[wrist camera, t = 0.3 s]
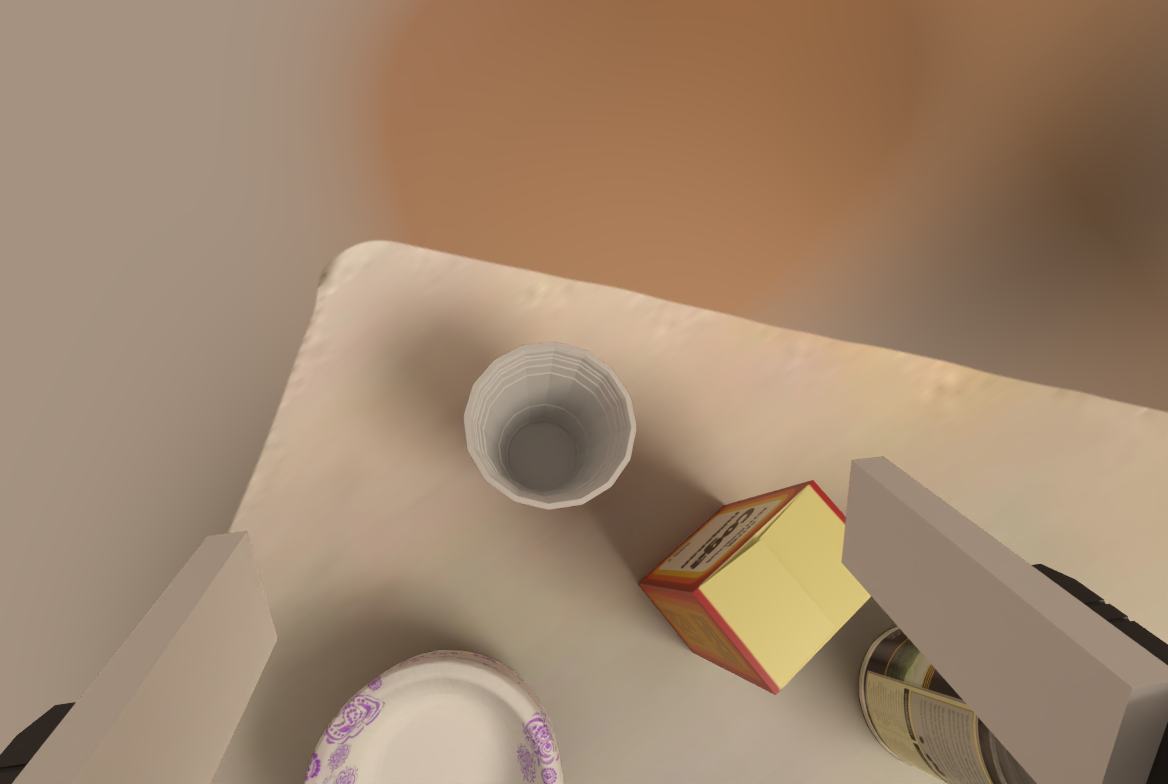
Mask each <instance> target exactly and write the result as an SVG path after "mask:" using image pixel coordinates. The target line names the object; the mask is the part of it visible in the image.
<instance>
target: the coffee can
mask: <svg viewBox="0 0 1168 784" xmlns="http://www.w3.org/2000/svg"><path fill="white" fill-rule="evenodd" d="M859 697H860V703H861V707H862V711H863V714H864V717H865V719H866V722H867V724H868V726H869V728H870V730H871V731H872V733H873V734H874V736H875V737H876V739H877V740H878V741H879V742H880V744H881V745H882V746H883V747H884V748H885V749H886V750H887V751H888V752H890V753H891V754H892V755H893V756H895V757H896V758H898V759H899V760H901V761H903V762H905V763H907V764H909V765H911V766H915V767H917V768H919V769H921V770H923V771H925V772H927V773H929V774H931V775H932V776H934V777H936V778H938V779H940V780H942V781H944V782H946V783H948V784H1037V783H1036V782H1035V781H1034V780H1033V779H1032V777H1031V776H1030V775H1029V774H1028V773H1027V772H1026V771H1025V770H1024V768H1023V767H1022V766H1021V765H1020V764H1019V763H1018V762H1017V761H1016V759H1015V758H1014V757H1013V756H1012V755H1011V754H1010V753H1009V751H1008V750H1007V749H1006V748H1005V747H1004V746H1003V745H1002V744H1001V742H1000V741H999V740H998V739H997V738H996V737H995V736H994V734H993V733H992V732H991V731H990V730H989V729H988V728H987V727H986V725H985V724H984V723H983V722H982V721H981V720H980V719H979V718H978V716H977V715H976V714H975V713H974V712H973V711H972V710H971V708H970V707H969V706H968V705H967V704H966V703H965V702H964V701H963V699H962V698H961V697H960V696H959V695H958V694H957V693H956V692H955V690H954V689H953V688H952V687H951V686H950V685H949V684H948V682H947V681H946V680H945V679H944V678H943V677H942V676H941V675H940V673H939V672H938V671H937V670H936V669H935V668H934V667H933V665H932V664H931V663H930V662H929V661H928V660H927V659H926V658H925V656H924V655H923V654H922V653H921V652H920V651H919V650H918V649H917V647H916V646H915V645H914V644H913V643H912V642H911V641H910V639H909V638H908V637H907V636H906V635H905V634H904V633H903V632H902V630H901V629H900V628H899V627H898V626H897V627H894V628H892V629H889V630H888V631H886V632H885V633H883V634H882V635H881V636H880V637H878V638H877V639H876V640H875V642H874V643H873V644H872V645H871V647H870V648H869V650H868V651H867V653H866V655H865V657H864V660H863V663H862V666H861V669H860V675H859Z"/></svg>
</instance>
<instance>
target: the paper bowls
mask: <svg viewBox="0 0 1168 784" xmlns="http://www.w3.org/2000/svg"><path fill="white" fill-rule="evenodd" d="M304 784H563V773H562V765H561V760H560V755H559V750H558V746H557V742H556V738H555V734H554V731H553V728H552V724H551V721H550V719H549V717H548V714H547V712H546V710H545V708H544V707H543V705H542V703H541V701H540V700H539V698H538V697H537V696H536V694H535V693H534V691H533V690H532V689H531V688H530V687H529V685H528V684H527V683H526V682H525V681H524V680H523V679H522V678H521V677H520V676H519V675H518V674H516V673H515V672H514V671H512V670H511V669H509V668H508V667H507V666H505V665H504V664H502V663H500V662H498V661H496V660H494V659H492V658H490V657H488V656H484V655H480V654H477V653H472V652H468V651H461V650H436V651H432V652H428V653H424V654H420V655H417V656H414V657H412V658H410V659H407V660H405V661H402V662H400V663H398V664H397V665H395V666H393V667H391V668H390V669H388V670H387V671H385V672H384V673H382V674H381V675H379V676H378V677H377V678H375V679H374V680H372V681H371V682H369V683H368V684H367V685H365V686H364V687H363V688H362V689H360V690H359V691H358V692H357V693H356V694H354V695H353V696H352V697H351V698H350V699H349V700H348V701H347V703H346V704H345V705H344V706H343V707H342V708H341V710H340V711H339V712H338V713H337V714H336V716H335V717H334V718H333V719H332V720H331V722H330V723H329V725H328V726H327V728H326V729H325V731H324V732H323V734H322V736H321V738H320V739H319V741H318V744H317V746H316V748H315V750H314V753H313V754H312V757H311V761H310V762H309V766H308V769H307V772H306V776H305V780H304Z"/></svg>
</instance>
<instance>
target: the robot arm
mask: <svg viewBox="0 0 1168 784" xmlns="http://www.w3.org/2000/svg"><path fill="white" fill-rule="evenodd" d="M841 563H842V564H843V565H844V566H845V567H846V568H847V569H848V570H849V572H850V573H851V574H852V575H853V576H854V577H855V578H856V579H857V581H858V582H859V583H860V584H861V585H862V586H863V587H864V589H865V590H866V591H867V592H868V593H869V594H870V595H871V596H872V598H873V599H874V600H875V601H876V602H877V603H878V604H879V606H880V607H881V608H882V609H883V610H884V611H885V612H886V613H887V615H888V616H889V617H890V618H891V619H892V620H893V621H894V622H895V624H896V625H897V626H898V627H899V628H900V629H901V630H902V632H903V633H904V634H905V635H906V636H907V637H908V638H909V639H910V641H911V642H912V643H913V644H914V645H915V646H916V647H917V649H918V650H919V651H920V652H921V653H922V654H923V655H924V656H925V658H926V659H927V660H928V661H929V662H930V663H931V664H932V665H933V667H934V668H935V669H936V670H937V671H938V672H939V673H940V675H941V676H942V677H943V678H944V679H945V680H946V681H947V682H948V684H949V685H950V686H951V687H952V688H953V689H954V690H955V692H956V693H957V694H958V695H959V696H960V697H961V698H962V699H963V701H964V702H965V703H966V704H967V705H968V706H969V707H970V708H971V710H972V711H973V712H974V713H975V714H976V715H977V716H978V718H979V719H980V720H981V721H982V722H983V723H984V724H985V725H986V727H987V728H988V729H989V730H990V731H991V732H992V733H993V734H994V736H995V737H996V738H997V739H998V740H999V741H1000V742H1001V744H1002V745H1003V746H1004V747H1005V748H1006V749H1007V750H1008V751H1009V753H1010V754H1011V755H1012V756H1013V757H1014V758H1015V759H1016V761H1017V762H1018V763H1019V764H1020V765H1021V766H1022V767H1023V768H1024V770H1025V771H1026V772H1027V773H1028V774H1029V775H1030V776H1031V777H1032V779H1033V780H1034V781H1035V782H1036V783H1037V784H1168V645H1167V644H1166V643H1165V642H1163V641H1162V640H1160V639H1159V638H1158V637H1156V636H1155V635H1153V634H1152V633H1150V632H1149V631H1148V630H1146V629H1145V628H1143V627H1142V626H1141V625H1139V624H1138V623H1136V622H1135V621H1131V622H1130V621H1129V619H1128V616H1126V615H1125V614H1123V613H1122V612H1121V611H1119V610H1118V609H1116V608H1115V607H1114V606H1112V605H1111V604H1105V602H1104V599H1102V598H1101V597H1099V596H1098V595H1096V594H1095V593H1094V592H1092V591H1091V590H1089V589H1088V588H1087V587H1085V586H1084V585H1082V584H1081V583H1079V582H1078V581H1077V580H1075V579H1073V578H1071V577H1068V576H1066V575H1064V574H1062V573H1060V572H1057V571H1055V570H1053V569H1051V568H1049V567H1046V566H1044V565H1042V564H1036V565H1030V564H1029V563H1028V562H1026V561H1025V560H1024V559H1022V558H1021V557H1019V556H1018V555H1017V554H1015V553H1014V552H1013V551H1011V550H1010V549H1009V548H1007V547H1006V546H1004V545H1003V544H1002V543H1000V542H999V541H998V540H996V539H995V538H994V537H992V536H991V535H990V534H988V533H987V532H985V531H984V530H983V529H981V528H980V527H979V526H977V525H976V524H975V523H973V522H972V521H970V520H969V519H968V518H966V517H965V516H964V515H962V514H961V513H960V512H958V511H957V510H956V509H954V508H953V507H951V506H950V505H949V504H947V503H946V502H945V501H943V500H942V499H941V498H939V497H938V496H936V495H935V494H934V493H932V492H931V491H930V490H928V489H927V488H926V487H924V486H923V485H922V484H920V483H919V482H917V481H916V480H915V479H913V478H912V477H911V476H909V475H908V474H907V473H905V472H904V471H902V470H901V469H900V468H898V467H897V466H896V465H894V464H893V463H892V462H890V461H889V460H888V459H886V458H885V457H883V456H882V457H874V458H865V459H857V460H852V462H851V472H850V482H849V492H848V502H847V511H846V521H845V531H844V541H843V551H842V561H841ZM277 640H278V638H277V634H276V631H275V627H274V624H273V620H272V617H271V613H270V610H269V606H268V603H267V599H266V596H265V592H264V588H263V585H262V581H261V578H260V574H259V571H258V567H257V564H256V560H255V557H254V553H253V550H252V546H251V543H250V539H249V536H248V532H247V531H245V532H236V533H228V534H219V535H211V536H207V538H206V539H205V540H204V541H203V543H202V544H201V545H200V546H199V548H198V549H197V550H196V552H195V553H194V554H193V555H192V557H191V558H190V559H189V560H188V562H187V563H186V564H185V565H184V567H183V568H182V569H181V571H180V572H179V573H178V574H177V575H176V577H175V578H174V579H173V581H172V582H171V583H170V584H169V586H168V587H167V588H166V589H165V591H164V592H163V593H162V595H161V596H160V597H159V598H158V600H157V601H156V602H155V603H154V605H153V606H152V607H151V608H150V610H149V611H148V612H147V614H146V615H145V616H144V617H143V618H142V620H141V621H140V622H139V624H138V625H137V626H136V627H135V629H134V630H133V631H132V633H131V634H130V635H129V636H128V638H127V639H126V640H125V641H124V643H123V644H122V645H121V646H120V648H119V649H118V650H117V651H116V653H115V654H114V655H113V657H112V658H111V659H110V660H109V662H108V663H107V664H106V665H105V667H104V668H103V669H102V670H101V672H100V673H99V674H98V675H97V677H96V678H95V679H94V680H93V682H92V683H91V684H90V685H89V687H88V688H87V689H86V691H85V692H84V693H83V694H82V696H81V697H80V698H79V699H78V701H77V702H75V703H68V704H61V705H55V706H54V707H52V708H51V709H50V710H49V711H47V712H46V713H45V714H43V715H42V716H41V717H40V718H38V719H37V720H36V721H35V722H33V723H32V724H31V725H30V726H28V727H27V728H26V729H25V730H23V731H22V732H21V733H19V734H18V735H17V736H16V737H15V738H14V739H13V741H12V742H11V743H10V744H9V745H8V746H7V748H6V749H5V750H4V751H3V753H2V754H1V755H0V784H210V783H211V781H212V779H213V777H214V775H215V772H216V770H217V768H218V766H219V764H220V762H221V760H222V757H223V755H224V753H225V751H226V749H227V747H228V745H229V742H230V740H231V738H232V736H233V734H234V732H235V730H236V728H237V725H238V723H239V721H240V719H241V717H242V715H243V713H244V710H245V708H246V706H247V704H248V702H249V700H250V698H251V695H252V693H253V691H254V689H255V687H256V685H257V683H258V680H259V678H260V676H261V674H262V672H263V670H264V668H265V665H266V663H267V661H268V659H269V657H270V655H271V653H272V650H273V648H274V646H275V644H276V642H277Z"/></svg>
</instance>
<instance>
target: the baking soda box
mask: <svg viewBox="0 0 1168 784" xmlns="http://www.w3.org/2000/svg"><path fill="white" fill-rule="evenodd" d="M845 521H846V517H845V516H844V515H843V513H842V512H841V511H840V510H839V509H838V508H837V507H836V505H835V504H834V503H833V502H832V501H831V500H830V499H829V498H828V496H827V495H826V494H825V493H824V492H823V491H822V490H821V488H820V487H819V486H818V485H817V484H816V483H815V482H814V480H812V481H808V482H805V483H801V484H798V485H794V486H790V487H787V488H783V489H780V490H776V491H773V492H769V493H766V494H762V495H759V496H755V497H752V498H748V499H745V500H741V501H738V502H734V503H730V504H727V505H724V506H723V507H722V508H721V509H720V510H719V511H718V512H717V513H716V514H714V515H713V516H712V517H711V518H710V519H709V520H708V521H707V522H706V523H704V524H703V525H702V526H701V527H700V528H699V529H698V530H697V531H696V532H694V533H693V534H692V535H691V536H690V537H689V538H688V539H687V540H686V541H684V542H683V543H682V544H681V545H680V546H679V547H678V548H677V549H675V550H674V551H673V552H672V553H671V554H670V555H669V556H668V557H667V558H665V559H664V560H663V561H662V562H661V563H660V564H659V565H658V566H657V567H655V568H654V569H653V570H652V571H651V572H650V573H649V574H648V575H647V576H645V577H644V578H643V579H642V580H641V581H640V582H639V583H638V585H639V586H640V587H641V588H642V589H643V591H644V592H645V593H646V594H647V596H648V597H649V598H650V599H651V601H652V602H653V603H654V604H655V606H656V607H657V608H658V609H659V611H660V612H661V613H662V614H663V616H664V617H665V618H666V619H667V621H668V622H669V623H670V624H671V626H672V627H673V628H674V629H675V631H676V632H677V633H678V634H679V636H680V637H681V638H682V639H683V641H684V642H685V643H686V644H687V645H688V647H689V648H690V649H691V650H692V652H693V653H695V654H697V655H699V656H701V657H702V658H704V659H706V660H708V661H710V662H712V663H714V664H716V665H718V666H720V667H722V668H724V669H726V670H728V671H730V672H732V673H734V674H736V675H738V676H740V677H742V678H743V679H745V680H747V681H749V682H751V683H753V684H755V685H757V686H759V687H761V688H763V689H765V690H767V691H769V692H771V693H773V694H775V695H776V694H777V693H778V692H779V691H780V690H781V689H782V688H783V687H784V686H785V685H786V684H787V683H788V682H789V681H790V680H791V679H792V678H793V677H794V676H795V675H796V674H797V673H798V672H799V671H800V670H801V668H802V667H803V666H804V665H805V664H806V663H807V662H808V661H809V660H810V659H811V658H812V657H813V656H814V655H815V654H816V653H817V652H818V651H819V650H820V649H821V648H822V647H823V646H824V645H825V644H826V643H827V642H828V641H829V640H830V639H831V637H832V636H833V635H834V634H835V633H836V632H837V631H838V630H839V629H840V628H841V627H842V626H843V625H844V624H845V623H846V622H847V621H848V620H849V619H850V618H851V617H852V616H853V615H854V614H855V613H856V612H857V611H858V610H859V609H860V607H861V606H862V605H863V604H864V603H865V602H866V601H867V600H868V599H869V598H870V597H871V595H870V594H869V593H868V592H867V591H866V590H865V589H864V587H863V586H862V585H861V584H860V583H859V582H858V581H857V579H856V578H855V577H854V576H853V575H852V574H851V573H850V572H849V570H848V569H847V568H846V567H845V566H844V565H843V564H842V563H841V561H842V551H843V541H844V531H845Z"/></svg>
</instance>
